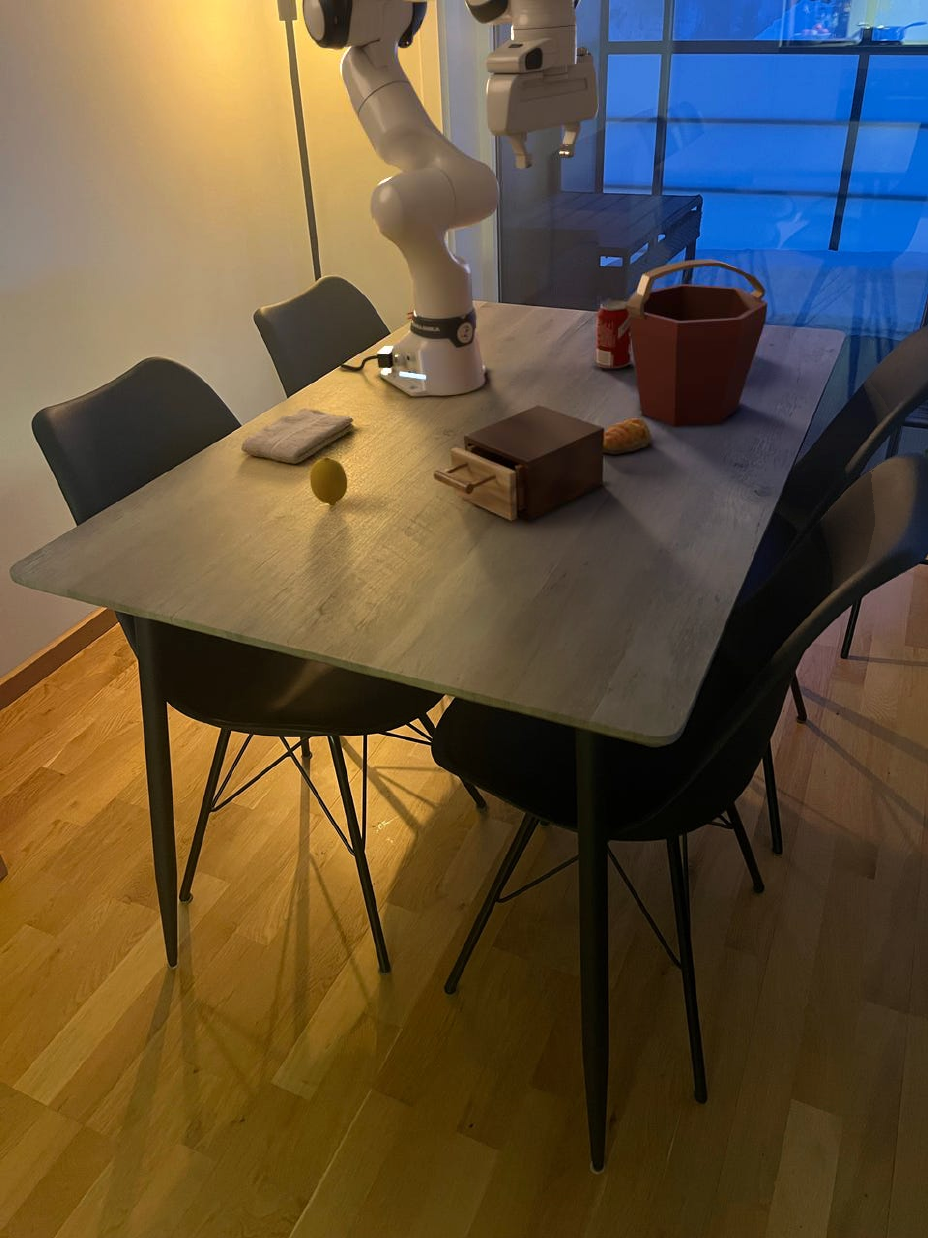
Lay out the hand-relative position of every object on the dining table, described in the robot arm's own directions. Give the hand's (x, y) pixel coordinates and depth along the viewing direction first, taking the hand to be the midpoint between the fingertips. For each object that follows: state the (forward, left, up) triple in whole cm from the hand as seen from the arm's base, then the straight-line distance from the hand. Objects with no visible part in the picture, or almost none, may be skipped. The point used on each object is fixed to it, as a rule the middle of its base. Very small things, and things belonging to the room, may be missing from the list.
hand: (546, 162), depth 137 cm
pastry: (+12, +6, -43) cm, 45 cm away
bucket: (+9, +26, -43) cm, 51 cm away
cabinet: (+12, -15, -43) cm, 47 cm away
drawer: (+12, -21, -42) cm, 49 cm away
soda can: (-15, +34, -43) cm, 57 cm away
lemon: (-7, -40, -43) cm, 59 cm away
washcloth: (-31, -30, -43) cm, 61 cm away
